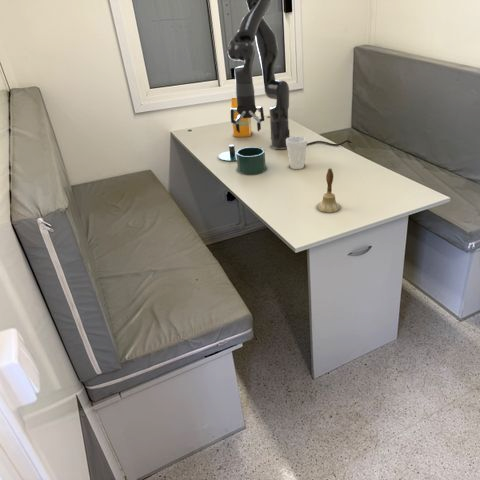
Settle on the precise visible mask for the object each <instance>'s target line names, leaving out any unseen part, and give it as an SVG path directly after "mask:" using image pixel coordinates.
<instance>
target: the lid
mask: <svg viewBox="0 0 480 480" xmlns="http://www.w3.org/2000/svg"><path fill="white" fill-rule="evenodd" d="M236 151H237V150H236V149H235V144H229V145H228V150H227V151H223V152H221V153H220V154H218V159H219V160H220V161H222V162H237V155H236Z"/></svg>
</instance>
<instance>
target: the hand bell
mask: <svg viewBox="0 0 480 480" xmlns="http://www.w3.org/2000/svg"><path fill="white" fill-rule="evenodd" d="M325 177H326V179H325V180H326V185H327V187H326V192H325V193H323V196H322V199H321V202H320V203H319V204H318V206H317V209H318V210H319V211H321V212H322V213H328V214H329V213H336V212H338V211H339V210H340V205H339V204H338V202H337V200H336V194H335V193H333V192H332V185H333V181H334V173H333V169H332V168H328V169H327V172H326V176H325Z"/></svg>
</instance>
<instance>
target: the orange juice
mask: <svg viewBox="0 0 480 480" xmlns="http://www.w3.org/2000/svg"><path fill="white" fill-rule="evenodd" d="M230 106H231V107H230V109H231V108H237V97H231V105H230ZM238 115H239V113H238V112H237V111H236V112H235V114H234V120H236V119H237V117H238ZM239 128H240V133H238V131H237V130H236V124H235V123H232V129H233V131H232V132H233V137H251V135H252V131H253V130H252V118H243V117H242V119H241V120H240V122H239Z"/></svg>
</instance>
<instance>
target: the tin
mask: <svg viewBox="0 0 480 480" xmlns="http://www.w3.org/2000/svg"><path fill="white" fill-rule="evenodd" d="M235 151H236V155H237V161H236V164H237V171H238V172H239V173H241V175H242V174H243V175H247V176H253V175H258V174H261V173H264V171H266V168H267V167H266V152H265V149H264V148H261V147H258V146H246V147H242V148H239V149H238V150H235Z"/></svg>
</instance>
